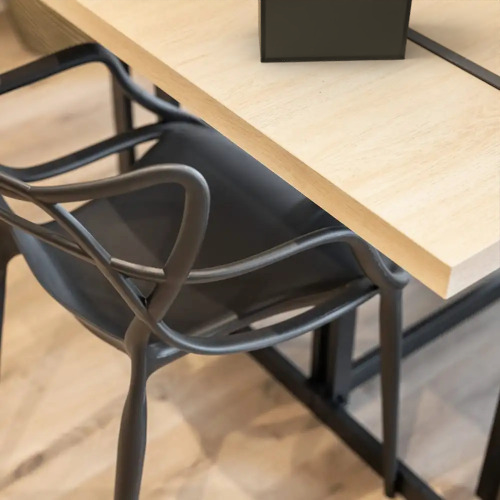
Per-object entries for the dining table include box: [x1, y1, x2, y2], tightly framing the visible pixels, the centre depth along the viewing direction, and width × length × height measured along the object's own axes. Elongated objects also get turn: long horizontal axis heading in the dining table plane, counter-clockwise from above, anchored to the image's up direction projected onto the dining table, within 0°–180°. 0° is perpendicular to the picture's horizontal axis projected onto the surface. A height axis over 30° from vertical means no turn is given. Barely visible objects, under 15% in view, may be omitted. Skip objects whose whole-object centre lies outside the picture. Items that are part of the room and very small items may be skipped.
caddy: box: [257, 0, 413, 63], centre depth 89 cm, size 16×8×8 cm, turn 91°
